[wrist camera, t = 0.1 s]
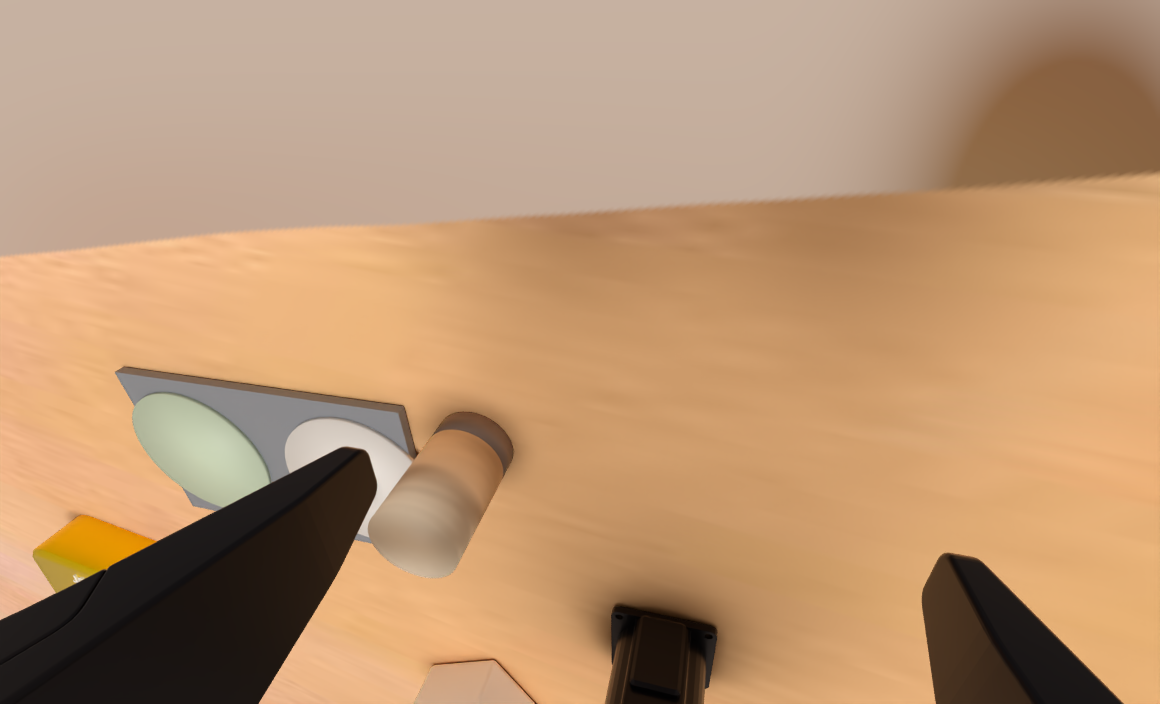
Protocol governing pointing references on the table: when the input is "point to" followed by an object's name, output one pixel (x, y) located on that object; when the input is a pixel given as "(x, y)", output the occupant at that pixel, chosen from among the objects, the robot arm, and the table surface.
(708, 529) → the table surface
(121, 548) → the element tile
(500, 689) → the medicine bottle
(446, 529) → the sleeve
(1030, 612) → the robot arm
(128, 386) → the board
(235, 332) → the table surface
